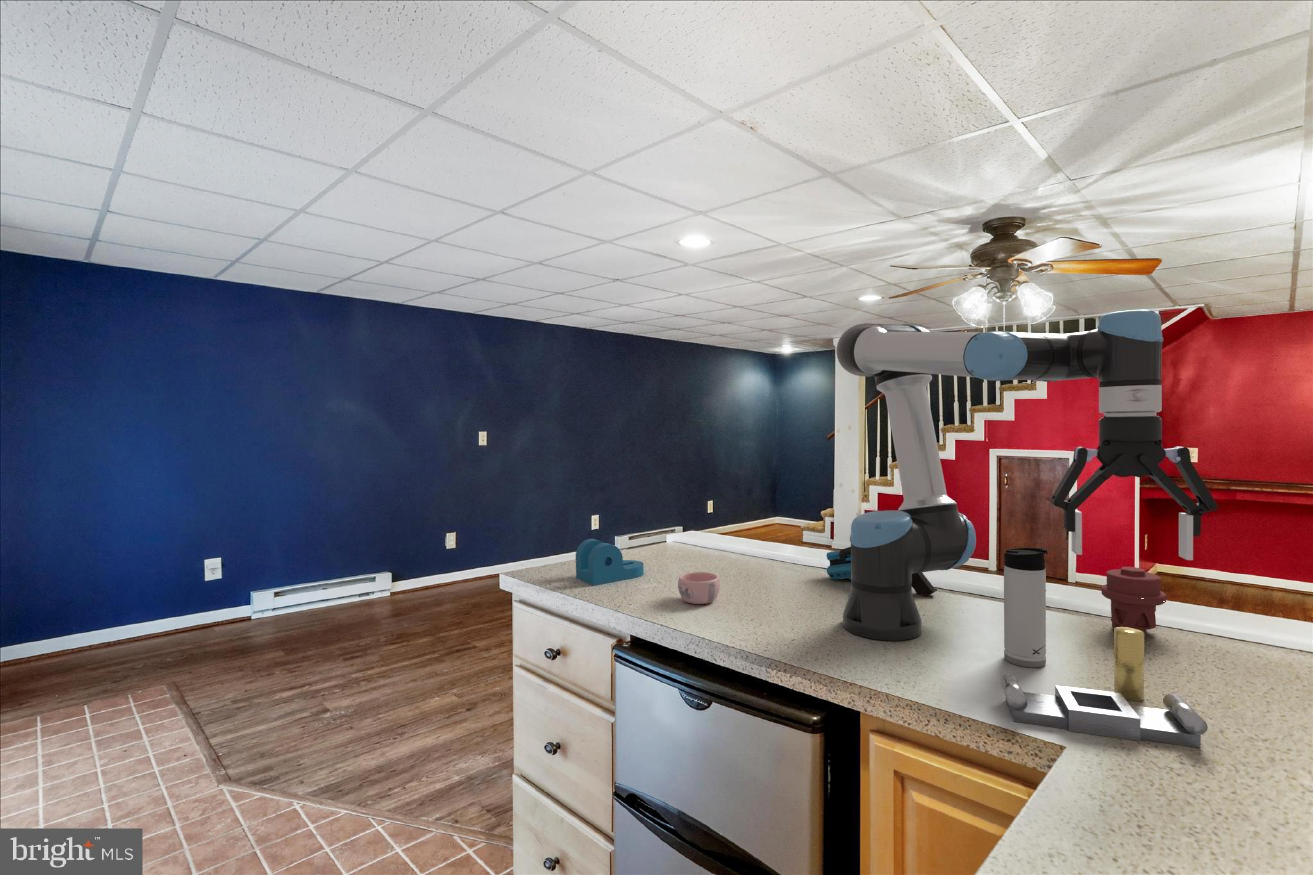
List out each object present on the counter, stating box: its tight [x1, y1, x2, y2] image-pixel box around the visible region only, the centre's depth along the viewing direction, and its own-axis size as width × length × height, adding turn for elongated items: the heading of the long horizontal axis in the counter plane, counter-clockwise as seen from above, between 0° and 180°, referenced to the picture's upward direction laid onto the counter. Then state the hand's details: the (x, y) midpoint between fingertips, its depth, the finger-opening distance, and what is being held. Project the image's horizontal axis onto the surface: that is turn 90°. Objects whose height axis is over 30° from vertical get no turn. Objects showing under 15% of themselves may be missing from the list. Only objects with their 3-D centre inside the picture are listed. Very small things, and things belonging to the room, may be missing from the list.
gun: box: [825, 546, 938, 596], centre depth 157 cm, size 8×26×15 cm, turn 43°
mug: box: [677, 571, 721, 605], centre depth 148 cm, size 12×10×6 cm
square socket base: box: [1000, 673, 1208, 749], centre depth 86 cm, size 22×8×4 cm, turn 68°
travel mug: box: [1003, 547, 1049, 669], centre depth 107 cm, size 6×7×20 cm
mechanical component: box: [1101, 566, 1167, 638], centre depth 121 cm, size 12×10×10 cm
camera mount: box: [575, 538, 645, 587], centre depth 172 cm, size 18×10×10 cm, turn 124°
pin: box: [1113, 627, 1145, 702], centre depth 94 cm, size 4×4×10 cm
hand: (1129, 555), depth 93 cm, fingers open, 13 cm apart
